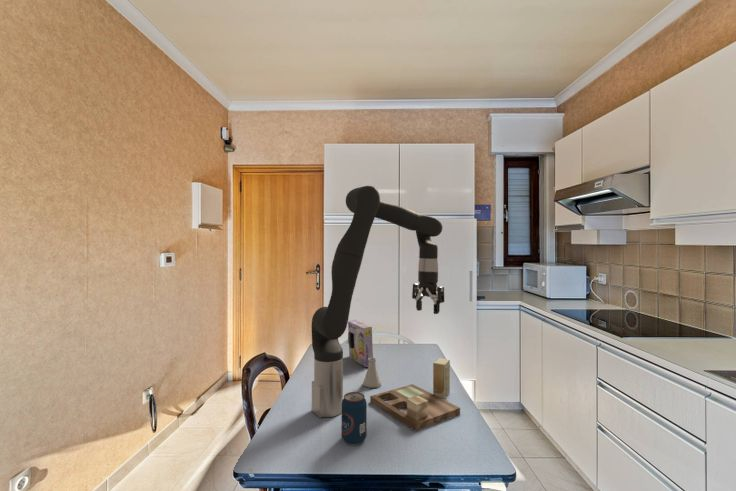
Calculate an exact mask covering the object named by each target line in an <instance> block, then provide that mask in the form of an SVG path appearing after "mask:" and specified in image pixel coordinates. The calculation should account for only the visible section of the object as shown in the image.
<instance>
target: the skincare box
mask: <svg viewBox="0 0 736 491" xmlns="http://www.w3.org/2000/svg"><path fill="white" fill-rule="evenodd" d="M432 363H433V366H432V367H433V368H432V369H433V370H432V372H433V373H432V376H433V378H432V380H433V381H432V384H433V386H432V387H433V389H432V390H433V391H432V392H433V393H432V394H433V395H436V396H438V397H440V398H442V399H444V400H446V398H447V397H448V396H449V395H450V393H451V392H450V391H451V381H450V380H451V377H450V376H451V375H450V374H451V370H450V369H451V368H450V366H451V364H450V363H451V361H450V359H447V358H440V357H439V358H437V359H436V360H435V361H434V362H432Z"/></svg>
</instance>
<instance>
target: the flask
mask: <svg viewBox="0 0 736 491" xmlns="http://www.w3.org/2000/svg"><path fill="white" fill-rule="evenodd" d="M368 361H369V366H368V367H367V370H366V374H365V377H364V379H363V382H362V385H363V387H364V388H369V389H371V388H373V389H375V388H376V389H378V388H379V387H381V386H382V383H381V379H380V377H379V373H378V371H377V365H376V361H377V358H376V357H373V358H369V359H368Z"/></svg>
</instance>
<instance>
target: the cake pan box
mask: <svg viewBox="0 0 736 491" xmlns="http://www.w3.org/2000/svg"><path fill="white" fill-rule="evenodd" d="M347 328H348V329H347V331H348V333H347V342H348V356H349V358H350V359H352V360H354V361H355V362H357V363H358V364H360V365H361V366H363V367H364V368H368V366H369V361H368V359H369V358H374V355H373V354H374V350H373V349H374V348H373V329H372V328H373V327H372V326H370V325H368V324H366V323H365V322H363V321H362V322H361V321H359V320H357V319H353V320H348V323H347Z"/></svg>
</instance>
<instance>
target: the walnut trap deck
mask: <svg viewBox="0 0 736 491" xmlns="http://www.w3.org/2000/svg"><path fill="white" fill-rule="evenodd" d="M415 396H420V397H422V398H424V399H425V400H427V401H428V416H426V417H423V418H420V419H418V420H417V419H415V418H413V417H412V416H410V415H408V414H407V399H409V398H412V397H415ZM369 398H370V399H369V402H370V403H371V404H373V405H374V406H376V407H378V408H379V409H381V410H382V411H383V412H385V413H387V414H388V415H390V416H391V417H392V418H394V419H396V420H397V421H399V422H400V423H402V424H403V425H405V426H407V428H410V429H411V430H412V431H415V432H417V431H419V430H422V429H424V428H427V427H429V426H433V425H435V424H437V423H441V422H443V421H445V420H448V419H450V418H454V417H456V416H458V415H461V407H459V406H457V404H456V405H455V404H454V403H452V402H449V400H446V399H443V398H440V397H438V396H436V395H433V393H431V392H429V391H428V390H425V389H423V388H421V387H419V386H418V385H415V384H412V383H411V384H408V385H405V386H400V387H397V388H394V389H390V390H388V391H383V392H380V393H377V394H373V395H370V396H369ZM388 399H389V401H385V400H388ZM402 408H405V410H403V411H401V410H400V409H402Z"/></svg>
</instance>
